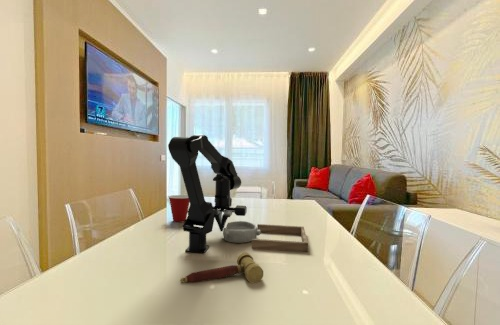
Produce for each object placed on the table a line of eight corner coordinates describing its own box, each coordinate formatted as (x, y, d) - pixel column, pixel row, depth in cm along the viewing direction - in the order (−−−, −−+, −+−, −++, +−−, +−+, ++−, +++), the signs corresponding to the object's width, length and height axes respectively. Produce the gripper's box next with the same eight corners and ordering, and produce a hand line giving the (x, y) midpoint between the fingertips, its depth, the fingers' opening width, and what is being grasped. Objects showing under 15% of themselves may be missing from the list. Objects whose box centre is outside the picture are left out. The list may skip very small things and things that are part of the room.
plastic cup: (194, 218, 133) (194, 194, 132) (187, 224, 122) (187, 197, 121) (173, 217, 134) (173, 193, 133) (163, 222, 123) (164, 196, 123)
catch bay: (307, 252, 92) (307, 243, 92) (251, 248, 94) (251, 239, 94) (303, 233, 112) (303, 226, 112) (257, 230, 114) (257, 223, 114)
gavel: (181, 280, 64) (178, 263, 73) (182, 299, 64) (179, 279, 74) (263, 264, 71) (251, 251, 80) (264, 281, 71) (251, 266, 80)
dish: (224, 245, 97) (224, 231, 96) (220, 233, 110) (220, 221, 110) (263, 243, 100) (263, 229, 99) (254, 231, 113) (254, 220, 113)
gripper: (248, 189, 112) (247, 226, 113) (205, 187, 114) (204, 224, 115) (245, 194, 101) (244, 235, 102) (197, 191, 103) (196, 232, 104)
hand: (221, 231), depth 106 cm, fingers closed
